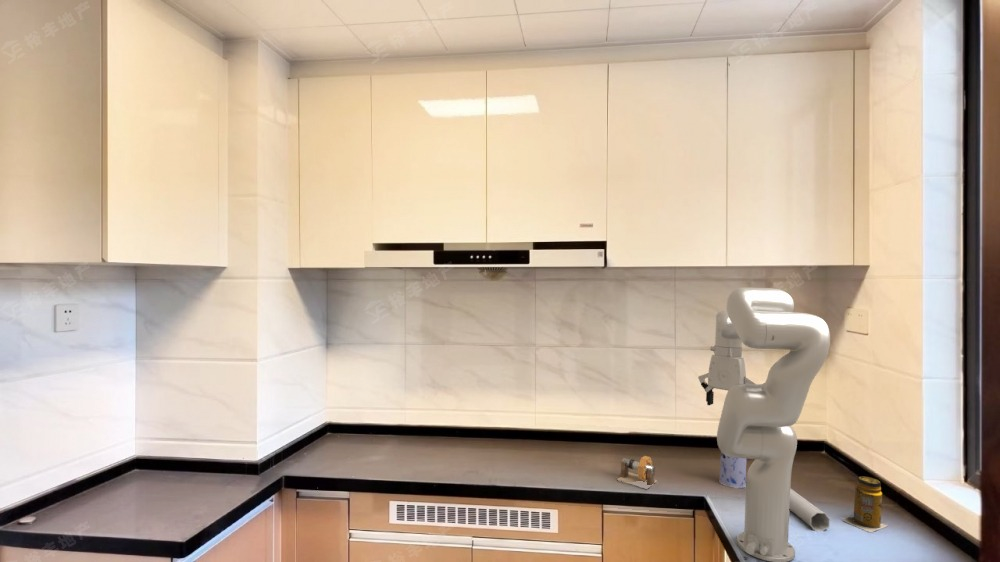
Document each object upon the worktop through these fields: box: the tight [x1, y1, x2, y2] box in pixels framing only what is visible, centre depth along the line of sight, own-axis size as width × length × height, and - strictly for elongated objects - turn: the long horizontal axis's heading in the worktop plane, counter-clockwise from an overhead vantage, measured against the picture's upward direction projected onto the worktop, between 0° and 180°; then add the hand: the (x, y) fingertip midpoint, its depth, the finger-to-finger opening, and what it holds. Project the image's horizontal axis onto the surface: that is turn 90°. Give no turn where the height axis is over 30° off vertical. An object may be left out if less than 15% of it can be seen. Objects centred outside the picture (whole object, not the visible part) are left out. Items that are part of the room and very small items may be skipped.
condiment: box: [842, 476, 889, 534], centre depth 142 cm, size 7×8×12 cm
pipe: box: [621, 457, 655, 474], centre depth 166 cm, size 3×10×3 cm, turn 50°
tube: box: [789, 487, 831, 532], centre depth 150 cm, size 5×5×25 cm
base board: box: [616, 460, 658, 485], centre depth 166 cm, size 8×10×6 cm
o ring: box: [637, 455, 654, 481], centre depth 165 cm, size 7×2×7 cm, turn 140°
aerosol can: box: [718, 451, 747, 489], centre depth 167 cm, size 8×8×20 cm
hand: (726, 407), depth 160 cm, fingers open, 9 cm apart
